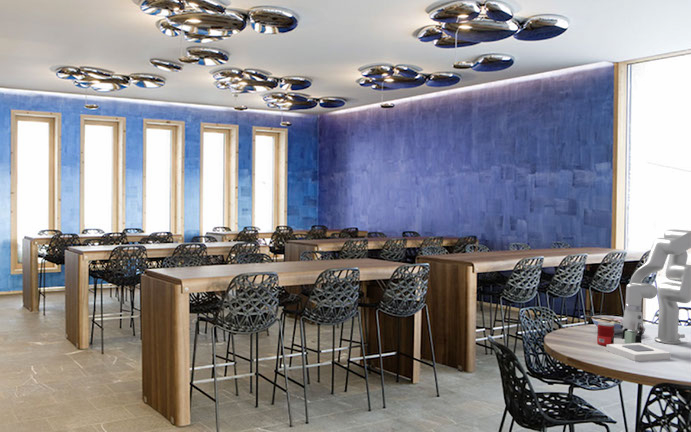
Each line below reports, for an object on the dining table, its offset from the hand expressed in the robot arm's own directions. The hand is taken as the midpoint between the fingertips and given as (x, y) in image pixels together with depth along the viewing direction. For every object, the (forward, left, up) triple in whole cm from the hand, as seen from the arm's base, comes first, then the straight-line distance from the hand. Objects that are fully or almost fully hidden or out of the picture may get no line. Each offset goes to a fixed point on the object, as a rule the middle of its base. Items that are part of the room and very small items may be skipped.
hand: (631, 340), depth 326 cm
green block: (0, 0, -2) cm, 2 cm away
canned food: (+13, -4, -3) cm, 14 cm away
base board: (+11, +17, -2) cm, 20 cm away
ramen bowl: (-11, -29, -3) cm, 31 cm away
